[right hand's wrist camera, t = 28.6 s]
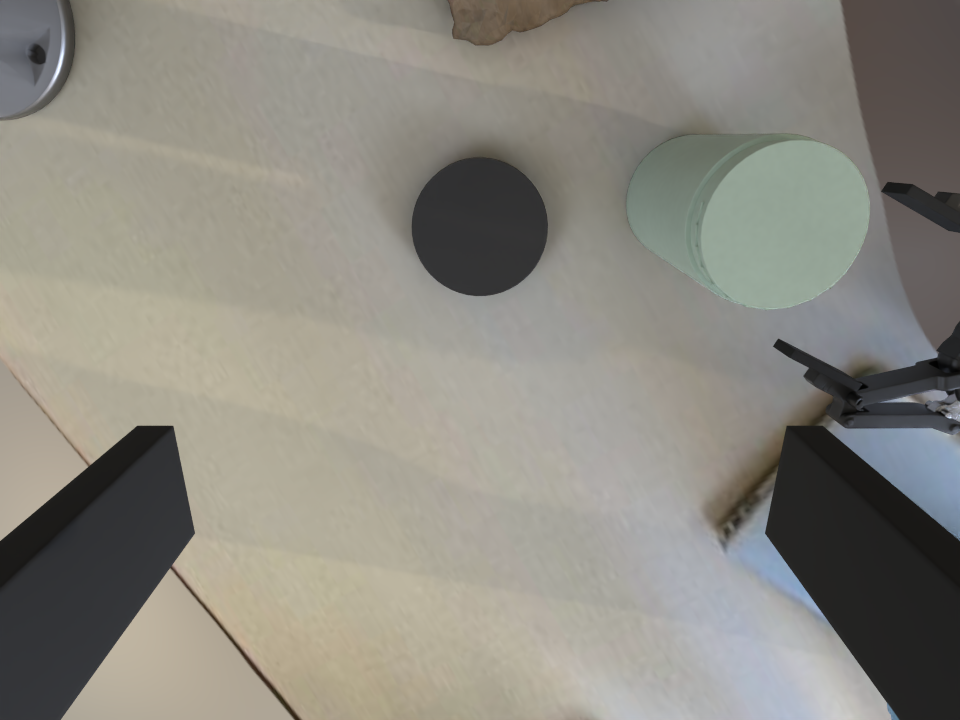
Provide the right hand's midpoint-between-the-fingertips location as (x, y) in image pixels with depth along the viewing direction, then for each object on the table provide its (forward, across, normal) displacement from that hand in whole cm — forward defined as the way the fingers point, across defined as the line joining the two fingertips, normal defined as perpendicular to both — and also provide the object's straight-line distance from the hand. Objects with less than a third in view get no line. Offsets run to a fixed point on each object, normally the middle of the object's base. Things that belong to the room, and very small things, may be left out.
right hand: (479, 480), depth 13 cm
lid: (+39, 0, 0) cm, 39 cm away
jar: (+41, +18, +2) cm, 44 cm away
